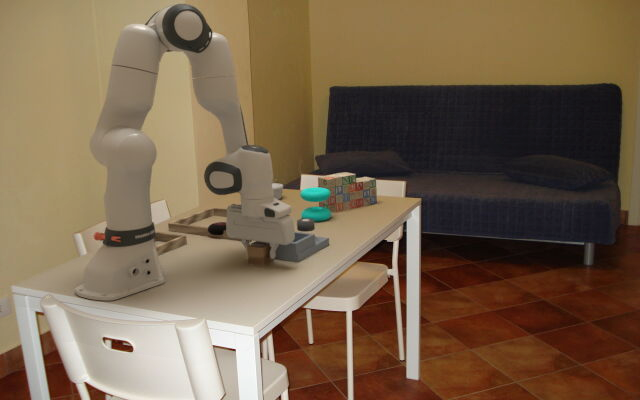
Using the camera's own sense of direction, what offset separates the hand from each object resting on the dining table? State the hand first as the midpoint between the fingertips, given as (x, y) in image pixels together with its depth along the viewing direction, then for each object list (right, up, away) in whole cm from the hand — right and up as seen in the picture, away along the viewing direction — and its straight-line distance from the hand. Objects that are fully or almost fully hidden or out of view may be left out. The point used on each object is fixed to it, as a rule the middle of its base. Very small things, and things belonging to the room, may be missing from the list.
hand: (260, 256), depth 176 cm
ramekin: (-4, +15, +75) cm, 77 cm away
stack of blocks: (+26, +12, +58) cm, 65 cm away
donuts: (+15, +9, +44) cm, 47 cm away
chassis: (+10, +1, +10) cm, 14 cm away
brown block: (0, -2, 0) cm, 2 cm away
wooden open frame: (-13, +6, +37) cm, 40 cm away
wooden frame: (-36, +1, +19) cm, 41 cm away
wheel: (+12, +7, +13) cm, 19 cm away
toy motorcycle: (-8, +6, +34) cm, 35 cm away
